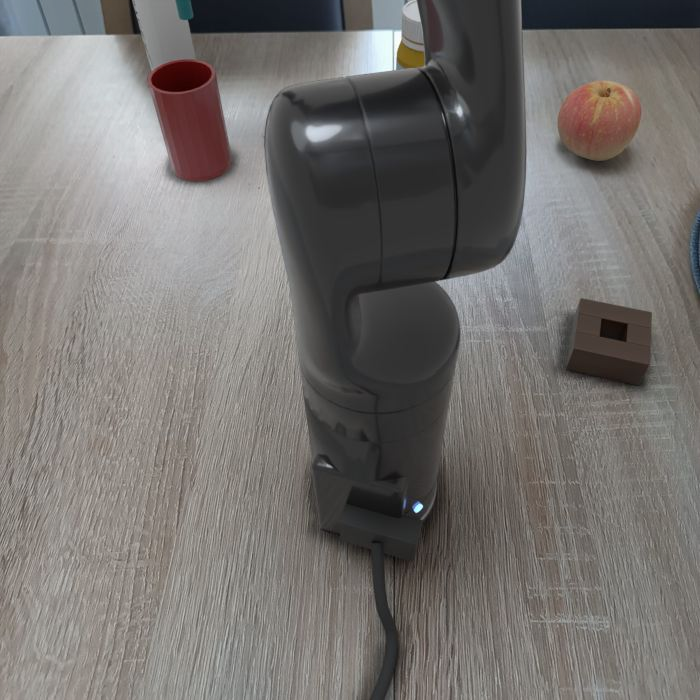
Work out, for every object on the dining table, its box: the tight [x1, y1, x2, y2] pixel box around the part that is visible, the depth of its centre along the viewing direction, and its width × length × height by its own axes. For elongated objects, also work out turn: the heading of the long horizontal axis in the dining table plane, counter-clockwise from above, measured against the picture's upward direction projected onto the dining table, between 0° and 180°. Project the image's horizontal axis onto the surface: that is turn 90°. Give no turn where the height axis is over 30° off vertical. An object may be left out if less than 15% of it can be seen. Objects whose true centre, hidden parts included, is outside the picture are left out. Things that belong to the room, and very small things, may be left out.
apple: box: [557, 80, 642, 162], centre depth 75 cm, size 9×9×8 cm
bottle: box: [395, 0, 425, 70], centre depth 76 cm, size 7×7×15 cm
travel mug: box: [131, 0, 197, 72], centre depth 84 cm, size 6×7×20 cm
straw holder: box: [565, 297, 653, 386], centre depth 58 cm, size 6×6×3 cm
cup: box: [147, 59, 233, 182], centre depth 74 cm, size 7×7×11 cm
